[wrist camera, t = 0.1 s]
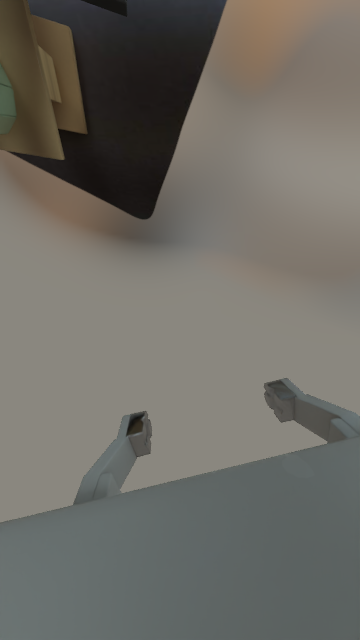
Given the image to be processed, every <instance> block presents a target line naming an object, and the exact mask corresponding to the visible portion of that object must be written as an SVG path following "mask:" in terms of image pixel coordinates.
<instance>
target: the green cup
mask: <svg viewBox="0 0 360 640" xmlns="http://www.w3.org/2000/svg"><path fill="white" fill-rule="evenodd" d="M16 116H17V114H16V106H15V99H14V91H13V89H12V85H11V83H10V81H9V79H8V77H7V75H6V73H5V71H4V69H3V67H2V65H1V63H0V135H5V134H7V133H9V131H10V130H11V128H12V126H13V124H14V122H15V120H16V118H17V117H16Z"/></svg>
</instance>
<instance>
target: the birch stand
mask: <svg viewBox="0 0 360 640" xmlns="http://www.w3.org/2000/svg"><path fill="white" fill-rule="evenodd" d="M0 63H1V65H2V67H3V69H4V71H5V73H6V75H7V77H8V79H9V81H10V83H11V85H12V89H13V91H14V99H15V106H16V114H17V116H16V117H17V118H16V120H15V122H14V124H13V126H12V128H11V130H10V131H9V133H7V134H5V135H0V150H6V151H12V152H18V153H24V154H30V155H36V156H42V157H48V158H54V159H60V160H63V159H65V158H64V153H63V149H62V145H61V141H60V137H59V132H58V129H63V130H68V131H73V132H78V133H83V134H87V127H86V121H85V115H84V108H83V102H82V95H81V89H80V83H79V76H78V70H77V63H76V57H75V51H74V44H73V38H72V31H71V29H70V28H69V27H68V26H65V25H62V24H59V23H56V22H53V21H50V20H47V19H44V18H41V17H38V16H34V15H31V14H30V10H29V5H28V1H27V0H0Z"/></svg>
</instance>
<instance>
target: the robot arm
mask: <svg viewBox="0 0 360 640" xmlns="http://www.w3.org/2000/svg"><path fill="white" fill-rule="evenodd" d="M264 388H265V390H266V392H265V394H264V395H265V400H266V402H267V404H268V406H269V407H270V408H271V409H273V410H274V414H275V415H276V417H277V418H278V419H279V421H280V422H286V421H291V420H295V421H296V422H297V423H299V424H301V425H302V426H304V427H305V428H307V429H309V430H310V431H312V432H313V433H315V434H317V435H318V436H320V437H321V438H323V439H325V440H326V441H328V443H327V444H324V445H320V446H316V447H312V448H308V449H304V450H300V451H295V452H291V453H287V454H283V455H279V456H275V457H271V458H266V459H263V460H259V461H254V462H250V463H246V464H242V465H238V466H233V467H230V468H225V469H221V470H217V471H213V472H209V473H204V474H200V475H196V476H192V477H188V478H184V479H180V480H176V481H171V482H167V483H163V484H159V485H155V486H151V487H147V488H142V489H138V490H134V491H130V492H126V493H121V491H120V488H121V487H122V485H123V483H124V481H125V479H126V477H127V475H128V474H129V472H130V470H131V468H132V466H133V465H134V463H135V461H136V459H137V457H140V456H143V455H147V454H150V451H151V441H150V438H151V436H152V427H151V422H150V420H149V419H148V414H147V412H146V411H143V412H139V413H134V414H130V415H125V416H123V418H122V421H121V425H120V429H119V433H118V436H117V439H115V440H114V441H113V442H112V443H111V445H110V446H109V447H108V448H107V449H106V451H105V452H104V453H103V454H102V456H101V457H100V458H99V459H98V460H97V462H96V463H95V464H94V465H93V466H92V468H91V469H90V470H89V471H88V473H87V474H86V475H85V476H84V477H83V480H82V482H81V485H80V488H79V490H78V493H77V496H76V498H75V501H74V504H73V505H72V506H68V507H64V508H60V509H56V510H52V511H47V512H43V513H39V514H35V515H31V516H27V517H23V518H19V519H14V520H9V521H5V522H2V523H0V640H360V416H358V415H357V414H356V413H354V412H352V411H349V410H346V409H344V408H341V407H339V406H336V405H334V404H331V403H329V402H326V401H324V400H321V399H318V398H316V397H313V396H311V395H308V394H307V395H305V394H304V393H303V392H302V391H301V390H300V389H299V388H298V387H296V386H295V385H294V384H293V383H292V382H291V381H290V380H289V379H288V378H284V379H280V380H276V381H272V382H268V383H265V384H264Z"/></svg>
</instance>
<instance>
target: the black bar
mask: <svg viewBox="0 0 360 640" xmlns="http://www.w3.org/2000/svg"><path fill="white" fill-rule="evenodd" d="M82 1H85V2H87V3H90V4H93V5H96V6H98V7H101V8H104V9H107V10H109V11H112V12H115V13H118V14H120V15H123V16H126V17H127V0H82Z"/></svg>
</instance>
